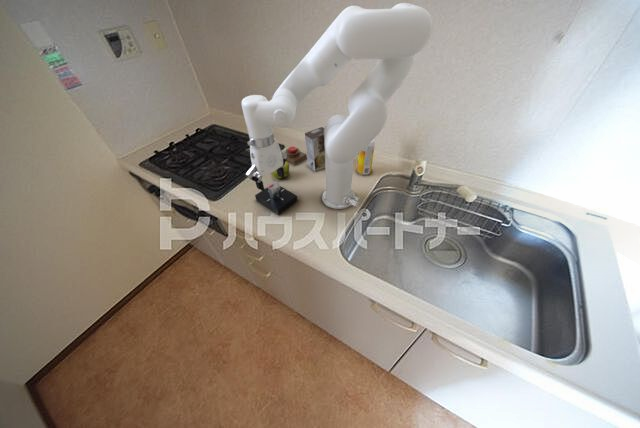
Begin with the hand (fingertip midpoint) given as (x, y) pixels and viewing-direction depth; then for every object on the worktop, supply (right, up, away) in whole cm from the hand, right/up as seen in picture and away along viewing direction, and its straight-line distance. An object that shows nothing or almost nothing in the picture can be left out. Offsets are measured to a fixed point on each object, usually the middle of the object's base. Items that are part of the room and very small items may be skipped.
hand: (271, 182), depth 86 cm
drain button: (+5, +18, +26) cm, 32 cm away
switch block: (+5, +15, +28) cm, 32 cm away
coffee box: (+17, +11, +23) cm, 31 cm away
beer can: (+37, +7, +18) cm, 42 cm away
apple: (0, +5, +18) cm, 19 cm away
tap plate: (+1, -6, +6) cm, 9 cm away
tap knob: (+1, -4, +4) cm, 6 cm away
